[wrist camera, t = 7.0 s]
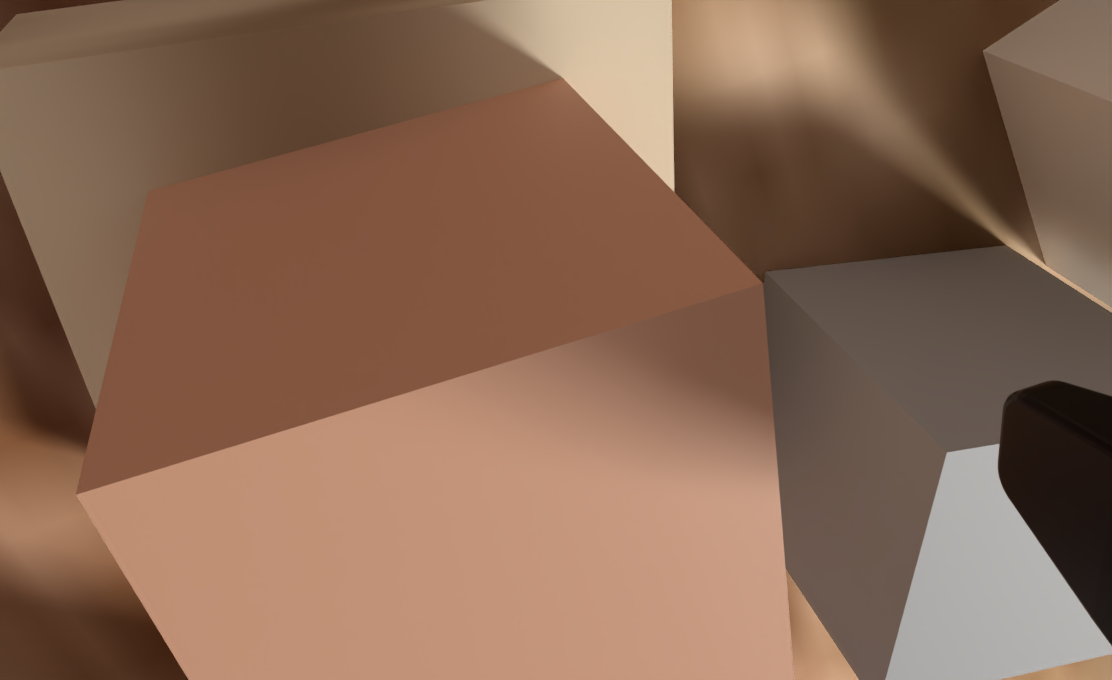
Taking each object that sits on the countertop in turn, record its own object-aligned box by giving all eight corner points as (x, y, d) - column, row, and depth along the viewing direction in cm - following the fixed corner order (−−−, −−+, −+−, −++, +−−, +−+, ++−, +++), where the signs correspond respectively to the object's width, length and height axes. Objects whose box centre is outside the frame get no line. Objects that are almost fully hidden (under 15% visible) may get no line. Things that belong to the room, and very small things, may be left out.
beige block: (589, -68, 13) (670, -26, 10) (614, 374, 17) (678, 483, 14) (23, 6, 12) (-39, 74, 9) (187, 467, 15) (174, 605, 13)
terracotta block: (563, 77, 11) (763, 282, 6) (622, 403, 13) (795, 705, 9) (147, 191, 10) (74, 495, 6) (292, 509, 13) (312, 881, 8)
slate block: (1003, 243, 17) (1250, 402, 13) (946, 454, 19) (1140, 647, 15) (763, 269, 16) (946, 451, 12) (733, 489, 18) (878, 707, 14)
